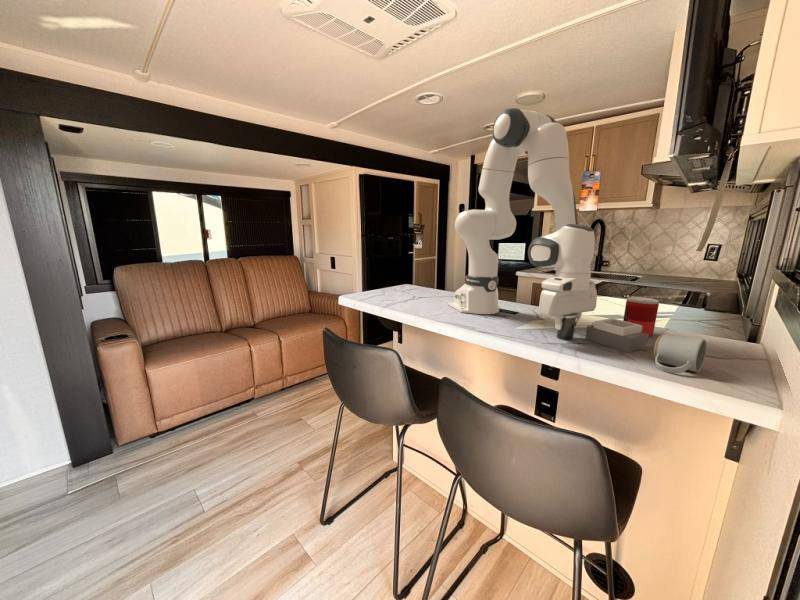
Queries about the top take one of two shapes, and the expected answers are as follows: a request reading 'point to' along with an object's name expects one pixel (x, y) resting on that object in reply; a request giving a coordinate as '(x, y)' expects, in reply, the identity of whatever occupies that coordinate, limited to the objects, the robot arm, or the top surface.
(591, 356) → the top surface
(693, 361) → the ceramic mug
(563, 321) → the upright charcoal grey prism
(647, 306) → the canned food
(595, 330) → the grey tissue box
